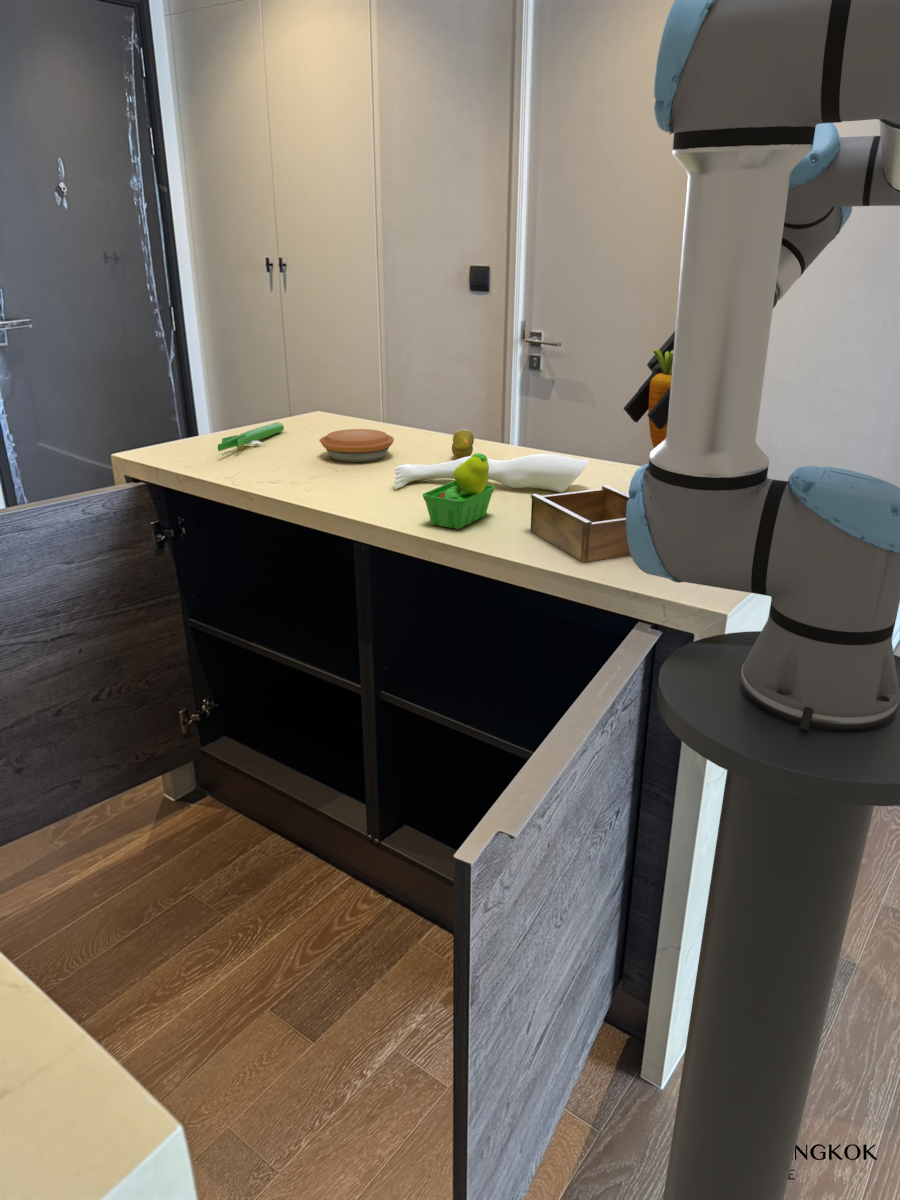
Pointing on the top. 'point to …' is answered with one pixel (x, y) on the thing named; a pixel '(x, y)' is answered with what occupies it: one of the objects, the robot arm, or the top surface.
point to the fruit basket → (461, 495)
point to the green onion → (250, 436)
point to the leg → (505, 471)
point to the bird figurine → (462, 443)
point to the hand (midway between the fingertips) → (642, 418)
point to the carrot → (660, 393)
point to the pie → (357, 445)
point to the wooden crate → (583, 522)
